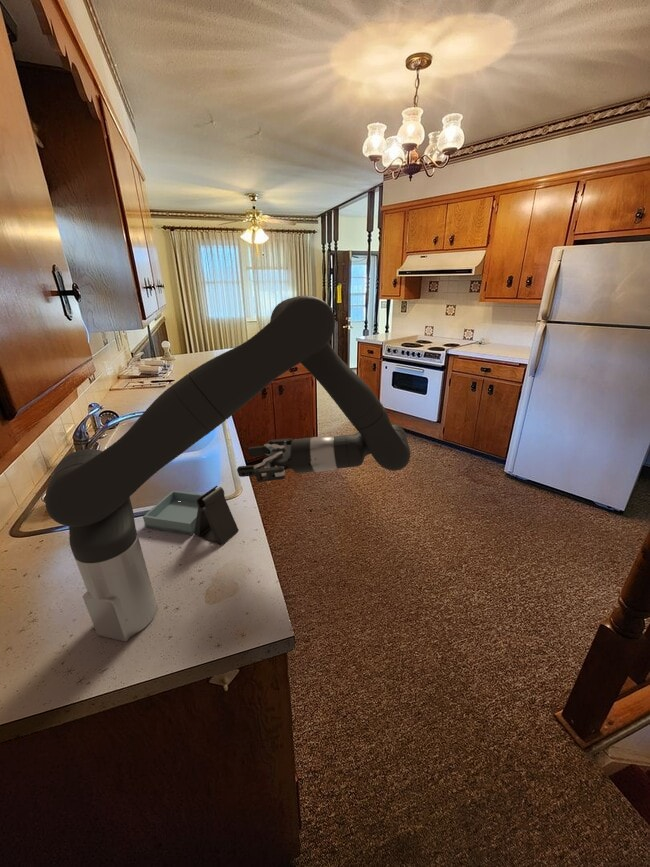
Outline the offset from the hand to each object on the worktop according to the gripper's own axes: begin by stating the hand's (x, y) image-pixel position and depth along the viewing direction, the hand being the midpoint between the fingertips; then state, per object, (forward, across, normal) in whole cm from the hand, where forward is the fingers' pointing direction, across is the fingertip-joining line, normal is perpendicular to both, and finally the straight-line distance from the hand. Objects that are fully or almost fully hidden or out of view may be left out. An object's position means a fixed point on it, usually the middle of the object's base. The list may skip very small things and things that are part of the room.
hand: (243, 461), depth 78 cm
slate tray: (+23, -5, +18) cm, 29 cm away
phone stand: (+12, +1, +19) cm, 22 cm away
